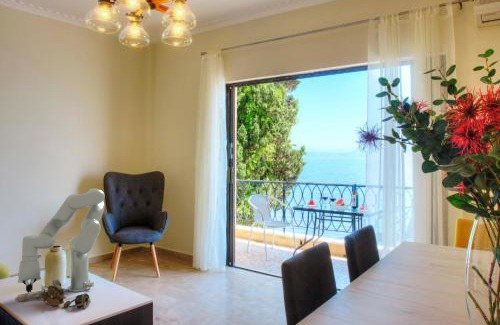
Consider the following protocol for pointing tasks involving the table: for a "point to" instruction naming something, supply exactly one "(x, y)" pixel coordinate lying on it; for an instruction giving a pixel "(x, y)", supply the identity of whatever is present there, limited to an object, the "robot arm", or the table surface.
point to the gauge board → (35, 294)
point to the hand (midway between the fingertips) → (29, 291)
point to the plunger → (43, 288)
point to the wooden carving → (54, 295)
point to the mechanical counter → (79, 301)
